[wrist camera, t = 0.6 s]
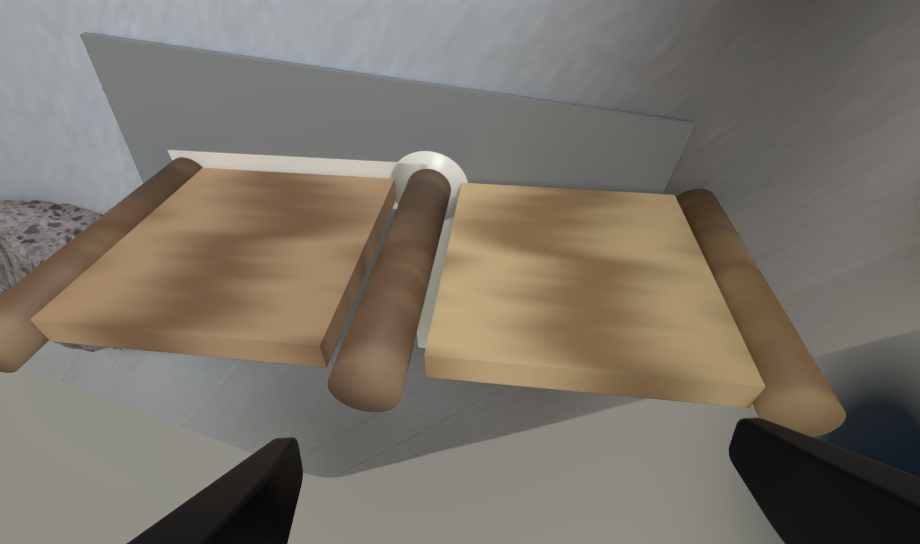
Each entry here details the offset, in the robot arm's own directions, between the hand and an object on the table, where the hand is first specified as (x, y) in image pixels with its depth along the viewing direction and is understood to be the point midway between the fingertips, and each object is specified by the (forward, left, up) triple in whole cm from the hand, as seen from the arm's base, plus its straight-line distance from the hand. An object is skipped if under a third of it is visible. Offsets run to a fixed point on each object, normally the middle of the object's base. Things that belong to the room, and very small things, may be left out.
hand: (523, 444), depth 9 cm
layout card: (+6, -6, -13) cm, 15 cm away
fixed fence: (+3, -10, -13) cm, 16 cm away
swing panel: (+2, +3, -13) cm, 13 cm away
